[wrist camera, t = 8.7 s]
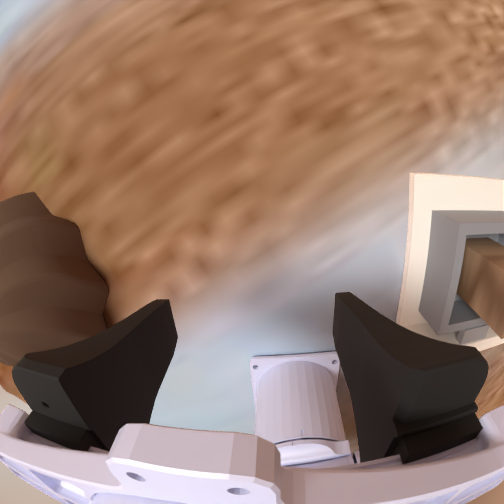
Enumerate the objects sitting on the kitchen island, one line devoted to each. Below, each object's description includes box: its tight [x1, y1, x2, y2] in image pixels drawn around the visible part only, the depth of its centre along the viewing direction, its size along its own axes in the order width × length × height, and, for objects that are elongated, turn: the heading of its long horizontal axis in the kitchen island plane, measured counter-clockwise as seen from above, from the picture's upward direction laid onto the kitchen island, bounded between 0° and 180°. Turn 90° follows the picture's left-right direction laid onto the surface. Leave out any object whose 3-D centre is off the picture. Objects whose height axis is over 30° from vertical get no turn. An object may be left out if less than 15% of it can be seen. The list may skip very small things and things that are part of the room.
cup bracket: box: [395, 172, 504, 351], centre depth 18 cm, size 14×12×5 cm
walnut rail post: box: [456, 237, 504, 339], centre depth 15 cm, size 4×4×8 cm
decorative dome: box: [0, 192, 109, 367], centre depth 19 cm, size 19×20×10 cm
